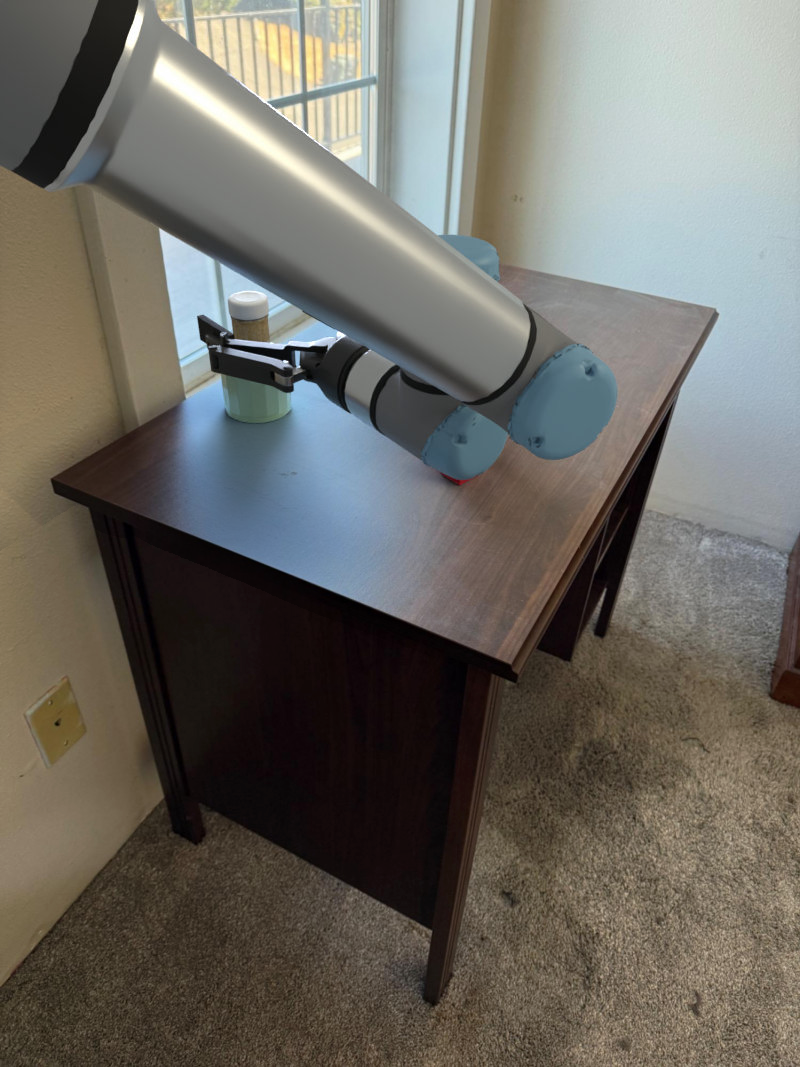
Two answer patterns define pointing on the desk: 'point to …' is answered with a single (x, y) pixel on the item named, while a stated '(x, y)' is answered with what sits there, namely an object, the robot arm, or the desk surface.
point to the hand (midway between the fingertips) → (255, 312)
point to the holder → (254, 400)
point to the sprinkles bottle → (249, 316)
